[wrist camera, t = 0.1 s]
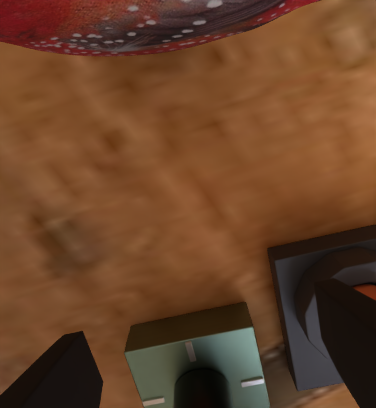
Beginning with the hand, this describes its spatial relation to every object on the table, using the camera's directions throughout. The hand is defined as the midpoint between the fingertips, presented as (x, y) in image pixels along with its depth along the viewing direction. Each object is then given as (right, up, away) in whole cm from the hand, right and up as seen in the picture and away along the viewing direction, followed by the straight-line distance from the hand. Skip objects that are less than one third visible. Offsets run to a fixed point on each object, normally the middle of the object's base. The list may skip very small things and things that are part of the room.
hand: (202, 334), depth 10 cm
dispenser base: (+10, -3, +11) cm, 15 cm away
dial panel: (+1, -8, +13) cm, 15 cm away
